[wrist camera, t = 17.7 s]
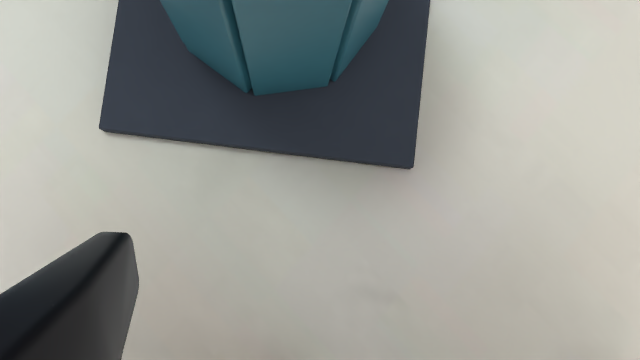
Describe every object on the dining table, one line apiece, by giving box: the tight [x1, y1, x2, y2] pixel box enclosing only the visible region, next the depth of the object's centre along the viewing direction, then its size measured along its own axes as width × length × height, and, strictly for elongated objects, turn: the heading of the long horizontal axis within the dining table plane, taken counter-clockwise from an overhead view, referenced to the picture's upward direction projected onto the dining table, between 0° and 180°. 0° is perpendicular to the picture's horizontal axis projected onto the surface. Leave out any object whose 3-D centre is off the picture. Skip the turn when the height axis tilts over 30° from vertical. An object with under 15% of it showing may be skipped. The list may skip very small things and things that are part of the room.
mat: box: [99, 0, 430, 169], centre depth 18 cm, size 10×10×1 cm
